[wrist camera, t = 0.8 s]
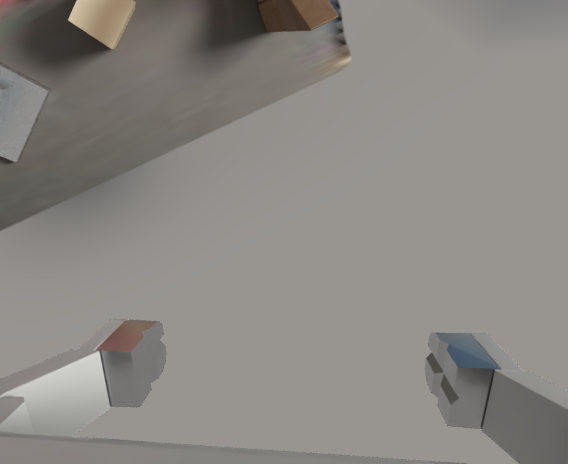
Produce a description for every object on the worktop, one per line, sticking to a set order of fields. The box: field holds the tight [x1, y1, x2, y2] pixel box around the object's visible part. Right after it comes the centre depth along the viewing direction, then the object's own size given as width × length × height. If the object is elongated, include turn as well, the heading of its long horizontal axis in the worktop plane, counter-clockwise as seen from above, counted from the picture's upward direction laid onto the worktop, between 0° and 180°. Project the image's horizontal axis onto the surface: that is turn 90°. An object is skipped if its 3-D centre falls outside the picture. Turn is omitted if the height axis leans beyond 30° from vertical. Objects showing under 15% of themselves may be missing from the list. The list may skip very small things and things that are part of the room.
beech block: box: [68, 0, 135, 50], centre depth 34 cm, size 4×5×9 cm
